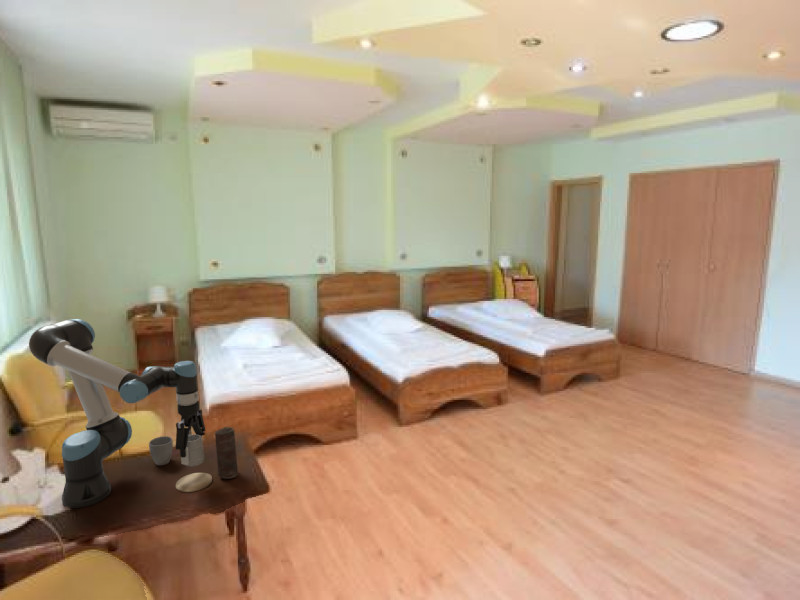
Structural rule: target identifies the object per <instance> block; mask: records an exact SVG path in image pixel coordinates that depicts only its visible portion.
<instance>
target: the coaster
mask: <svg viewBox="0 0 800 600" xmlns="http://www.w3.org/2000/svg"><path fill="white" fill-rule="evenodd" d="M212 481H213V477H212V475H211V474H210V473H207V472H194V473H189V474H186V475H184V476H182V477H181V478H179V479H178V480H176V483H175V489H176V490H177V491H178V492H181V493H195V492H197V491H201V490H203V489H205V488H207V487H208V486H210V485H211V483H213V482H212Z"/></svg>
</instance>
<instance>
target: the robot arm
mask: <svg viewBox="0 0 800 600" xmlns="http://www.w3.org/2000/svg"><path fill="white" fill-rule="evenodd" d="M95 338H96V331H95V330H94V327H93V326H92V325H91V324H90V323H88V322H87V321H85V320H83V319H80V318H73V319H65V320H63V321H59V322H56V323H53V324H49V325H44V326H41V327H39V328H38V329H36V330H35V331H34V332H33V333H32V334H31V336H30V338H29V341H28V347H29V350H30V353H31V354H32V355H33V356H34V357H35V358H36V359H37V360H38V361H40V362H42V363H44V364H46V365H48V366H51V367H56V366H58V367H61V368H62V369H65V370H67V372H68V374H69V376H70V378H71V381H72V385H73V386H74V389H75V392H76V394H77V396H78V398H79V402H80V404H81V406H82V409H83V411H84V414H85V416H86V419H87V423H86V424H85V430H81V431H80V432H76V433H72V434H71V435H70V436H68V437H67V438H66V439H64V440H63V443H62V445H61V457H62V463H63V470H64V477H65V478H64V479H65V483H64V486H63V492H62V494H61V501H62V502H61V503H62V505H63V506H64V507H65V506H66V508H71V509H78V508H84V507H85V508H86V507H89V506H92V505H94V504H97V503H99V502H101V501H103V500H104V499H106V498H107V497H108V496H109V495H110V494H111V492H112V487H111V483H110V481H109V480H108V478H107V476H106V474H105V471H104V465H103V463H104V460H105V459H107V458H109V457H110V456H112V454H114V453H116V452H117V451H120V450H121V449H122V448H124V446H125V445H126V444H128V443H129V441H130V439H131V438H132V435H133V428H132V425H131V423H130V421H129V420H127V419H126V418H125V417H122V416H120V414H119V413H118V412H116V411H113V408H112V406H111V402H110V400H109V397H108V396H107V393H106V389H105V388H104V386H105V387H107V388H109V389H110V390H113V391H114V392H115V391H116V392H118V393H119V396H120V399H122V400H123V401H124V402H125V403H126V404H134V403H137V402H139V401H142V400H144V399H145V398H147V397H149V396H151V394H153V393H156V392H157V391H159V390H161V389H162V388H175V392H176V393H175V394H176V403H177V414H178V415H180V416H181V417H180V422H176V423H175V427H176V430H175V431H176V432H175V433H176V434H175V450H176V451H179V453H180V462H181V465H184V464H185V465H188V464H189V454H188V448H187V441H188V436H189V431H190V430H191V431H192V429H193V432H194V434H195V435H196V434H197V435H200V436H201V441H202V443H204V442H203V436H205V435H206V427H205V426H206V425H205V422H204V417H203V410H202V409H200V401H199V397H200V396H199V388H198V371H197V366H196V363H195V362H194V361H192V360H182V361H178V362H176V363H175V364H173V365H174V366H160V365H154V366H147V367H145V369H144V370H143V372H142V374H141V375H137V374H136V373H133V372H131V371H128V370H126V369H123V368H122V367H119V366H117V365H115V364H112V363H110V362H108V361H106V360H103V359H101V358H99V357H97V356H95V355H92V352H93V351H94V347H93V343H94V341H95ZM187 427H188V428H187ZM202 449H203V450H204V445H203V446H202ZM185 465H184V466H185Z"/></svg>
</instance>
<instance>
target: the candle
mask: <svg viewBox="0 0 800 600" xmlns="http://www.w3.org/2000/svg"><path fill="white" fill-rule="evenodd" d="M235 435H236V434H235V428H234V427H230V426H223V427H221V428H219V429H218V430H216V431H215V432H214V436H215V438H214V439H215V449H216V450H215V451H216V462H217V463H216V464H217V475H218V477H219V478H221V479H233V478H236V477H238V475H239V470H238V469H239V468H238V460H237V448H236V437H235Z"/></svg>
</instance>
